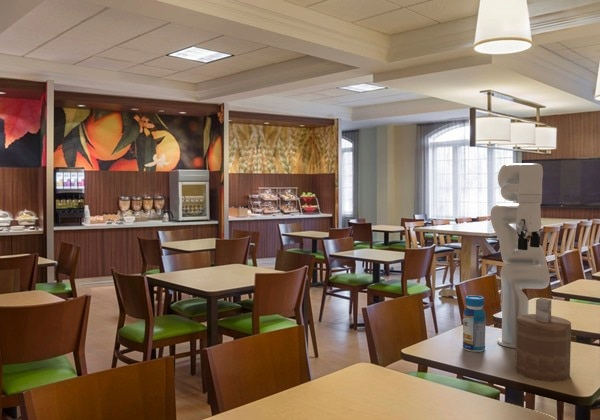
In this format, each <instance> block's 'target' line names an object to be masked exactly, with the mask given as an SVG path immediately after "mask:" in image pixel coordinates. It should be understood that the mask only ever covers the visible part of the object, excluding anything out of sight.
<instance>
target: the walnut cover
mask: <svg viewBox="0 0 600 420" xmlns="http://www.w3.org/2000/svg"><path fill="white" fill-rule="evenodd" d="M552 304H553V303H552V299H549V298H543V297H542V298H540V297H539V298H537V299H535V314H533V313H531V314H530V313H528V314H526V315H520V316H518V317H517V318H516V348H515V370H516V371H515V372H516V373H518V374H519V375H521V376H524V377H526V378H529V379H532V378H533V380H536V379H537V380H536V381H543V380H544V381H546V382H560V381H561V382H563V381H566V380H567V379H569V378H570V377H571V351H572V350H571V348H572V322H571V321H570V320H568V319H565V318H562V317H560V316H556V315H555V316H554V315H552ZM544 381H543V382H544Z"/></svg>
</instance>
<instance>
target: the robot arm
mask: <svg viewBox="0 0 600 420" xmlns="http://www.w3.org/2000/svg"><path fill="white" fill-rule="evenodd" d="M543 177H544V170H543V166H542V164H540V163H526V162H525V163H522V162H521V163H505V164H503V165H502V166H501V167H500V169H499V171H498V174H497V182H498V183H497V184H498V185H499V187H500V194H501V197H502V198H503V199H504V200H505V201H509V202H517V203H498V204H495V205H494V206H493V207H492V208H491V210H490V223H491V226H492V229H493V231H494V233H495V234H496V236H497V238H498V243H499V249H500V255H501V260H502V262H503V263H504V265H503V266H502V267H501V268H500V282H501V290H502V293H501V294H502V295H501V297H502V304H501V307H502V308H501V309H502V310H501V311H502V312H501V337H498V338H497V344H499V345H500V346H503V347H506V348H510V349H516V318H517V317H518V316H520V315H526V314H529V311H530V310H529V308H530V307H529V304H530V303H529V301H530V300H529V298H528V296H527V294H525V293H524V292H523V290H525V289H529V290H530V289H532V290H535V289H536V290H542V289H546V288H548V287H549V284H550V280H551V279H550V277H551V276H550V271H549V267H548V263H547V258H546V254H545V250H544V248H543V246H542V245H541V244H540V243H541V230H542V229H541V227H542V215H541V214H542V211H541V210H542V209H541V204H543V203H542V202H543V201H542V200H543ZM512 225H515V228H514V227H513V226H512ZM529 233H530V234H531V235H530V236H529V237H530V238H528V235H529Z"/></svg>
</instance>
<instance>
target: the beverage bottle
mask: <svg viewBox="0 0 600 420" xmlns="http://www.w3.org/2000/svg"><path fill="white" fill-rule="evenodd" d="M464 304H465V306H466V307H465V308H464V310H463V312H462V313H463V314H462V316H463V319H462V349H463V350H466V351H467V352H472V353H481V352H484V351H485V350H486V326H487V321H486V317H487V315H486V311H485V309H484V308H483V307H484V306H485V297H483V296H482V295H473V294H472V295H471V294H470V295H466V296H465V300H464Z"/></svg>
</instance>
